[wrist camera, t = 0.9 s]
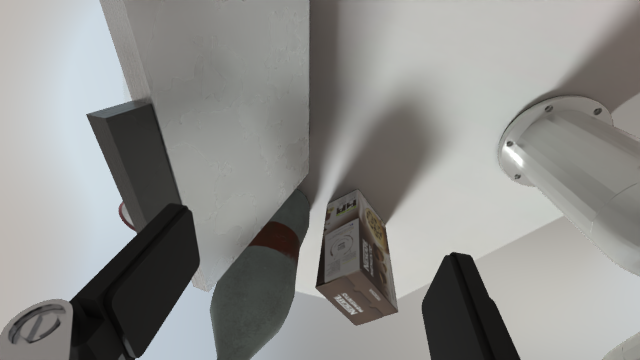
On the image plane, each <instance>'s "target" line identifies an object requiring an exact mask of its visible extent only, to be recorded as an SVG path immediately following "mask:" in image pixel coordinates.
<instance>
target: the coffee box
mask: <svg viewBox="0 0 640 360" xmlns="http://www.w3.org/2000/svg"><path fill="white" fill-rule="evenodd" d="M315 288H316V289H317V290H318V291H319V292H320V293H321V294H322V295H324V296H325V297H326V298H327V299H328V300H329V301H330V302H331V303H332V304H333V305H334V306H335V307H336V308H337V309H338V310H339V311H341V312H342V313H343V314H344V315H345V316H346V317H347V318H348V319H349V320H350V321H351V322H352V323H353V324H354V325H360V324H364V323H367V322H370V321H373V320H376V319H379V318H382V317H384V316H387V315H390V314H394V313H397V312H398V307H397V300H396V293H395V287H394V280H393V273H392V267H391V260H390V254H389V247H388V241H387V234H386V227H385V224H384V223H383V221H382V220H381V219H380V217H379V216H378V215H377V213H376V212H375V211H374V210H373V208H372V207H371V206H370V204H369V203H368V202H367V200H366V199H365V198H364V196H363V195H362V194H361V192H360V191H359V190H358V189H357V190H355V191H353V192H351V193H349V194H347V195H345V196H343V197H341V198H339V199H337V200H335V201H333V202H331V203H329V204H328V205H327V210H326V217H325V224H324V232H323V239H322V246H321V253H320V261H319V268H318V275H317V282H316V287H315Z"/></svg>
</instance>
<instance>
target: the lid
mask: <svg viewBox="0 0 640 360" xmlns="http://www.w3.org/2000/svg"><path fill="white" fill-rule="evenodd" d="M100 3H101V6H102V9H103V12H104V15H105V18H106V21H107V24H108V27H109V30H110V34H111V36H112V40H113V43H114V46H115V49H116V52H117V55H118V58H119V61H120V64H121V67H122V70H123V73H124V76H125V79H126V82H127V85H128V88H129V91H130V95H131V98H132V101H131V102H127V103H124V104H121V105H117V106H114V107H110V108H106V109H103V110H100V111H96V112H93V113H89V114H86V115H87V117H88V120H89V122H90V125H91V127H92V129H93V132H94V134H95V136H96V139H97V141H98V143H99V146H100V148H101V150H102V153H103V155H104V157H105V160H106V162H107V164H108V167H109V169H110V171H111V174H112V176H113V178H114V181H115V183H116V185H117V188H118V190H119V192H120V195H121V197H122V199H123V202H124V204H125V207H126V209H127V211H128V214H129V216H130V218H131V221H132V223H133V225H134V228H135V230H136V232H137V234H138V233H139V232H140V231H141V230H142V229H143V228H144V227H145V226H146V225H147V224H148V223H149V222H150V221H151V220H152V219H153V218H154V217H155V216H156V215H157V214H158V213H159V212H160V211H161V210H162V209H163V208H165V207H166V206H167V205H168V204H169V203H175V204H181V205H186V206H187V207H188V209H189V210H191V211H192V214H193V220H194V226H195V231H196V237H197V243H198V249H199V255H200V265H199V268H198V269H197V271H196V273H195V274H194V276H193V277H192V279H191V280H192V283H193V286H194V287H196V288H199V289H202V290H204V291H206V292H209V291H210V290H211V289H212V287H213V286H214V285H215V284H216V282H217V281H218V280H219V279H220V278H221V277H222V276H223V274H224V273H225V272H226V271H227V270H228V268H229V267H230V266H231V265H232V264H233V262H234V261H235V260H236V259H237V258H238V257H239V255H240V254H241V253H242V252H243V251H244V249H245V248H246V247H247V246H248V245H249V243H250V242H251V241H252V240H253V239H254V238H255V236H256V235H257V234H258V233H259V232H260V230H261V229H262V228H263V227H264V226H265V224H266V223H267V222H268V221H269V220H270V219H271V217H272V216H273V215H274V214H275V213H276V211H277V210H278V209H279V208H280V207H281V206H282V204H283V203H284V202H285V201H286V200H287V198H288V197H289V196H290V195H291V194H292V192H293V191H294V190H295V189H296V188H297V187H298V185H299V184H300V183H301V182H302V181H303V179H304V178H305V177H306V176H307V175H308V173H309V0H100Z"/></svg>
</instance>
